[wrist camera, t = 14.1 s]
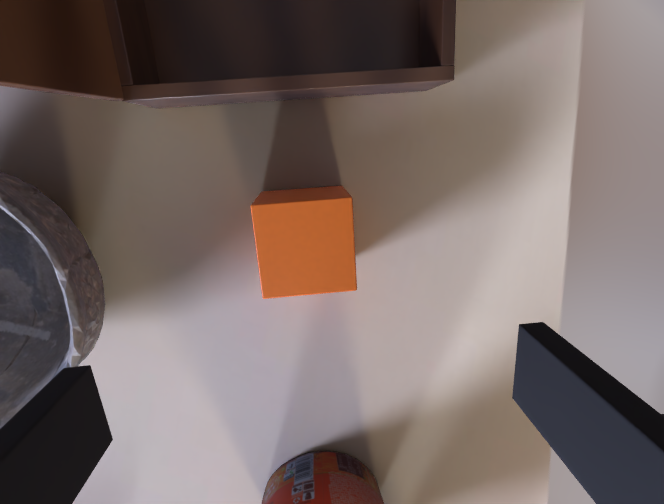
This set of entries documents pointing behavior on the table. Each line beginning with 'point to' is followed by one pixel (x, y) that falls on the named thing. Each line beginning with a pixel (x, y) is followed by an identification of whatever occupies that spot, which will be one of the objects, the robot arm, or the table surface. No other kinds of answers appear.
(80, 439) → the robot arm
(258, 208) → the cube
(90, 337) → the bowl
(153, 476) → the table surface
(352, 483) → the food container
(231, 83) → the box
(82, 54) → the lid
